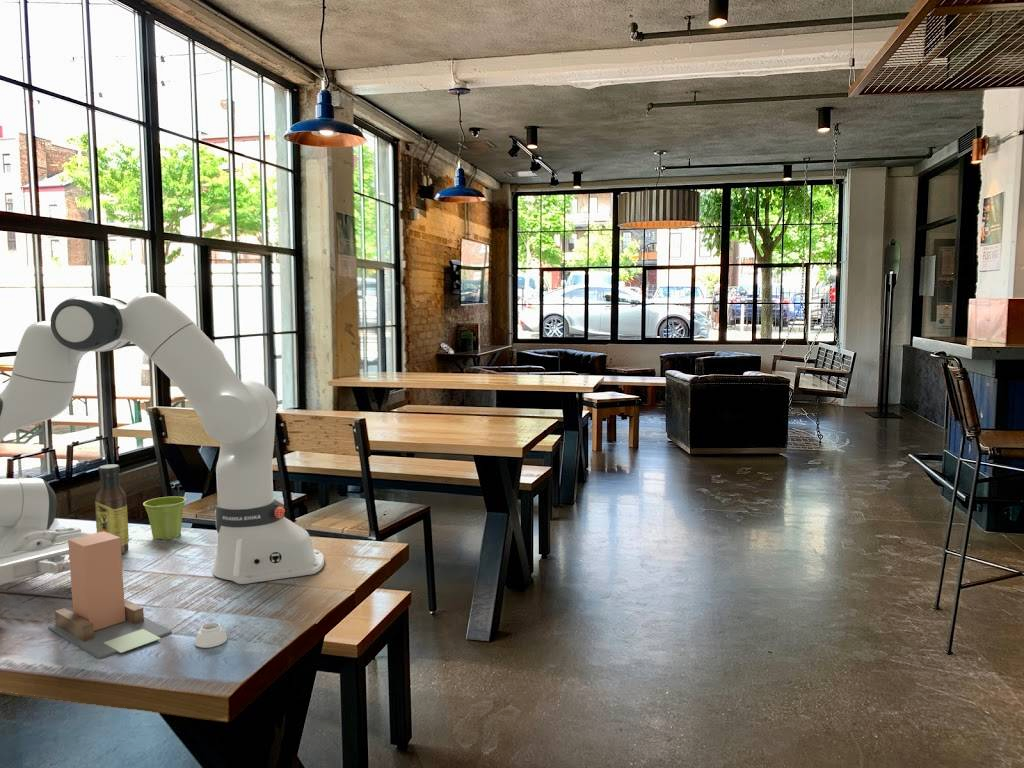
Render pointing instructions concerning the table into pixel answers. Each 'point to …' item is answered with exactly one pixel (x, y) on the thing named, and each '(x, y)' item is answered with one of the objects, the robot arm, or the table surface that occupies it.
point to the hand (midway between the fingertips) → (63, 567)
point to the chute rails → (85, 628)
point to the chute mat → (117, 637)
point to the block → (97, 579)
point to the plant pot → (165, 516)
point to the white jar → (210, 635)
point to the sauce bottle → (112, 505)
